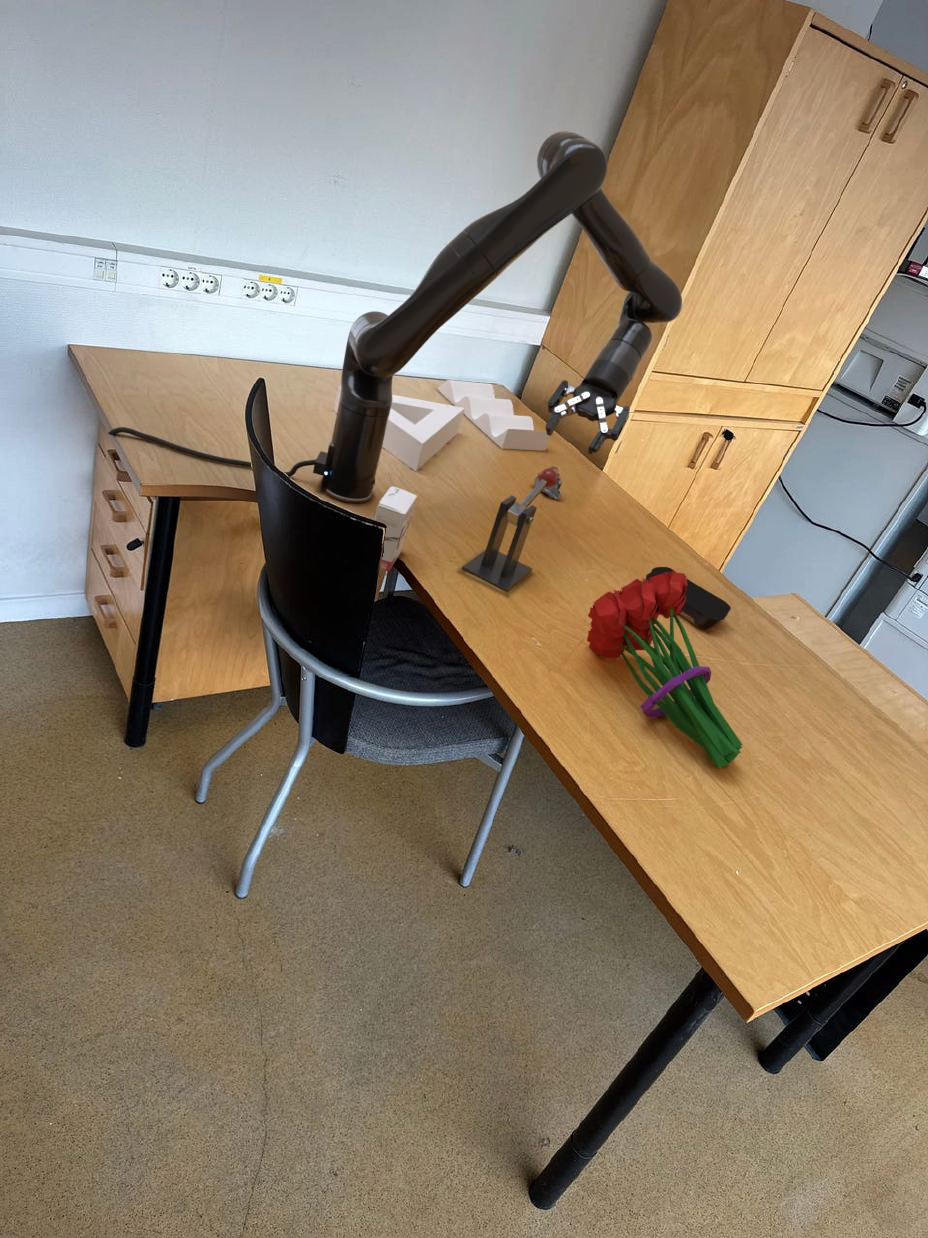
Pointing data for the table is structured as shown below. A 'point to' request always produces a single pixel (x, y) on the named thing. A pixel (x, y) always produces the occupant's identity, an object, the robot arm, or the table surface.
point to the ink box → (394, 522)
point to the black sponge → (698, 603)
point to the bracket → (496, 564)
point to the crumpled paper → (553, 490)
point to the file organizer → (494, 416)
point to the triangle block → (418, 428)
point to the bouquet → (663, 659)
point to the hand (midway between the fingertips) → (569, 442)
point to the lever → (532, 495)
